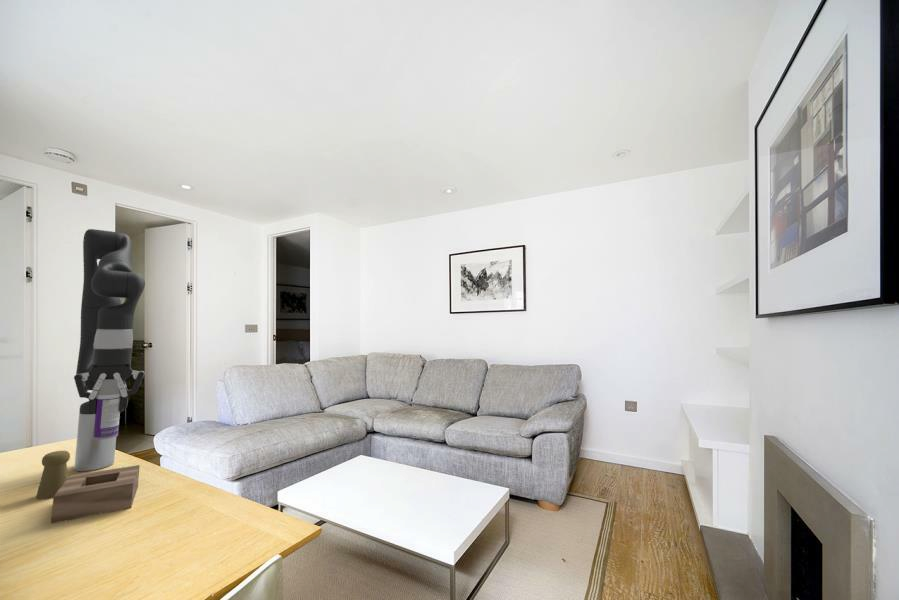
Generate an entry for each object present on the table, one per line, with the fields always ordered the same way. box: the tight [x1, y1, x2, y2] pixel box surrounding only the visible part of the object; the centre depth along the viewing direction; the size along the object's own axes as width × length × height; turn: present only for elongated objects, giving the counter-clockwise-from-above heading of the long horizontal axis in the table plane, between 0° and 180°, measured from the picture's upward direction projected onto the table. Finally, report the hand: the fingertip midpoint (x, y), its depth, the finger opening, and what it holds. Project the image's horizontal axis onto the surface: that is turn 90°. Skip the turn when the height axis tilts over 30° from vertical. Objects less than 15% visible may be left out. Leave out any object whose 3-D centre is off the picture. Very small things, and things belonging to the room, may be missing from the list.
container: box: [94, 379, 121, 440], centre depth 96 cm, size 5×5×15 cm
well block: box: [50, 464, 141, 524], centre depth 94 cm, size 14×14×6 cm
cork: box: [35, 450, 71, 500], centre depth 99 cm, size 6×6×11 cm
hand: (107, 411), depth 96 cm, fingers closed on container, 4 cm apart
